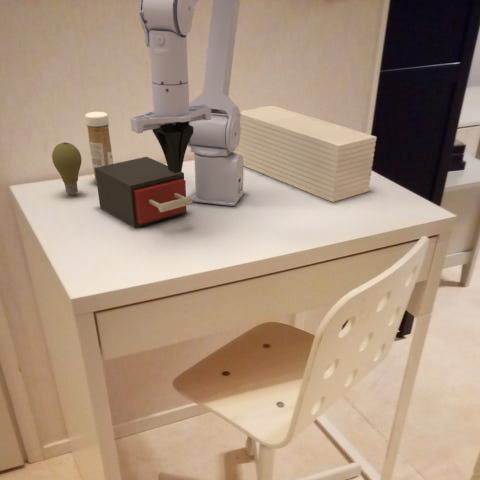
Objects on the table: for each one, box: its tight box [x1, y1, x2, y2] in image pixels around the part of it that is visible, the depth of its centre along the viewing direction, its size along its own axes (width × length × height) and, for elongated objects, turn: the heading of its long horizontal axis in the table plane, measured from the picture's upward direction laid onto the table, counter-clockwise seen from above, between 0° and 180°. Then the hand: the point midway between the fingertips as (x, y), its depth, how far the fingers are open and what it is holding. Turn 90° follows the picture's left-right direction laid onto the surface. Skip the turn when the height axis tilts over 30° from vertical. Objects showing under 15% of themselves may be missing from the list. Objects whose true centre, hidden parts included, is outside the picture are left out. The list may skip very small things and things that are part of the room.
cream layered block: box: [234, 105, 378, 203], centre depth 131 cm, size 32×11×11 cm, turn 38°
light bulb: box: [51, 142, 82, 197], centre depth 121 cm, size 6×6×10 cm
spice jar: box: [84, 111, 114, 185], centre depth 126 cm, size 5×5×14 cm
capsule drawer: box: [134, 179, 193, 224], centre depth 113 cm, size 16×10×6 cm, turn 40°
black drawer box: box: [95, 156, 187, 229], centre depth 115 cm, size 13×12×8 cm
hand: (175, 171), depth 104 cm, fingers closed
